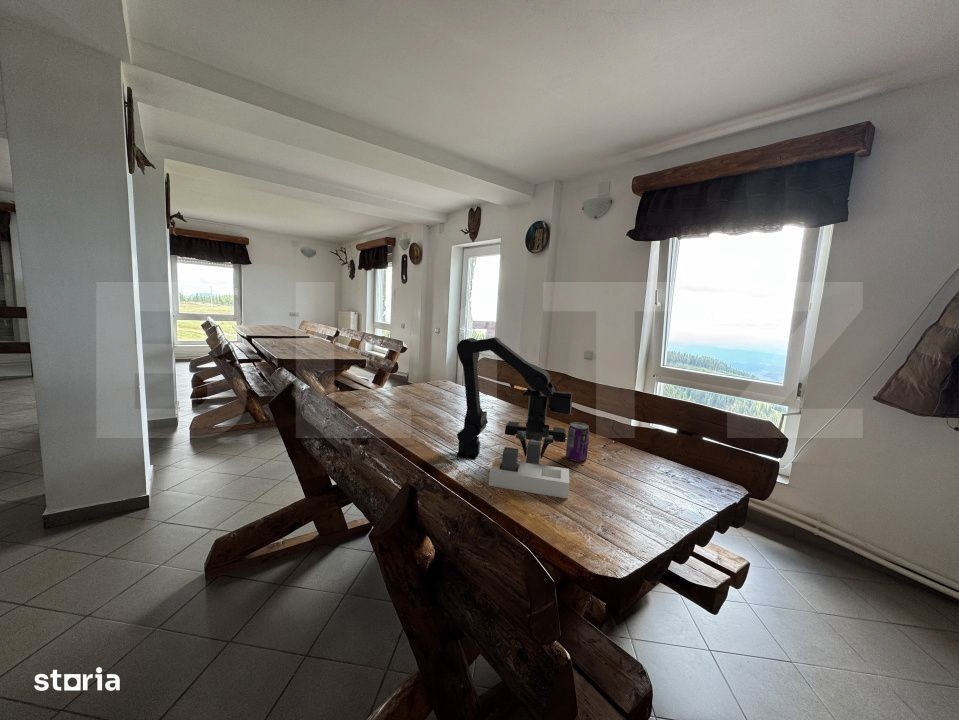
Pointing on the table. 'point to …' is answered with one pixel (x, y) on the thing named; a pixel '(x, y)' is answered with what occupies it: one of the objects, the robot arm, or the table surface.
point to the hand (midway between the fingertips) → (533, 456)
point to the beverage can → (577, 441)
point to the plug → (533, 452)
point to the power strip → (528, 476)
